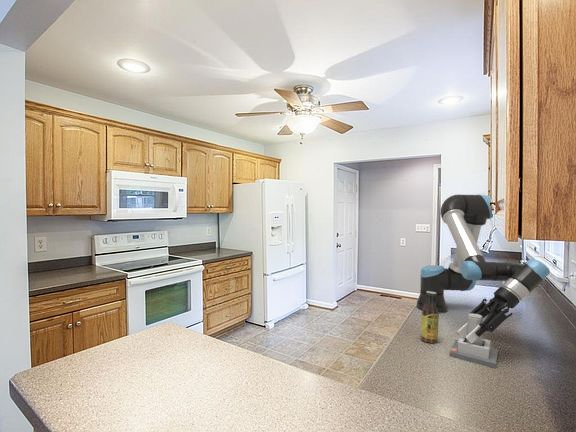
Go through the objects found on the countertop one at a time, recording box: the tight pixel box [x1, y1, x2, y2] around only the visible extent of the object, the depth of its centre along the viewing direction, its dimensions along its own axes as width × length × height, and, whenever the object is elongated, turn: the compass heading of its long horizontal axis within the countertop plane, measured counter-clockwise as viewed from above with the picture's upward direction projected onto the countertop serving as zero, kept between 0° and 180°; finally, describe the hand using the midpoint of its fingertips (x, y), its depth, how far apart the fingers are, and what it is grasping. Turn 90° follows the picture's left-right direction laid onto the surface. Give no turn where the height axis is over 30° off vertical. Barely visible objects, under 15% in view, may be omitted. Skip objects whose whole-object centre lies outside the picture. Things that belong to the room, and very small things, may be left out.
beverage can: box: [466, 312, 484, 346], centre depth 114 cm, size 5×5×12 cm
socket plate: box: [449, 334, 499, 369], centre depth 114 cm, size 14×14×5 cm
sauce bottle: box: [420, 291, 440, 344], centre depth 126 cm, size 6×6×20 cm
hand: (464, 337), depth 114 cm, fingers closed on beverage can, 5 cm apart
